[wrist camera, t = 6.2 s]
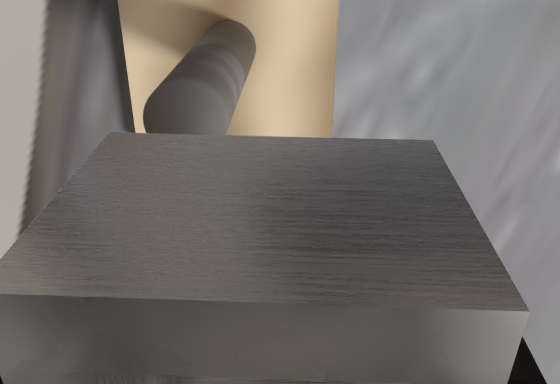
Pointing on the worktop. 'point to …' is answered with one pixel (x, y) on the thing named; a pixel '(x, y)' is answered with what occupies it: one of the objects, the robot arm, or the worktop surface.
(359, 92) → the worktop surface
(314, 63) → the post stand
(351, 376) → the collar
